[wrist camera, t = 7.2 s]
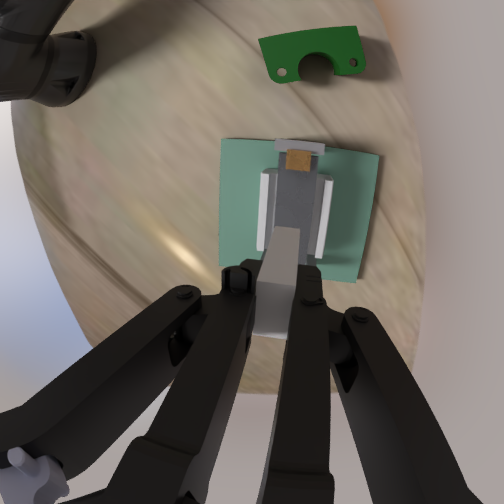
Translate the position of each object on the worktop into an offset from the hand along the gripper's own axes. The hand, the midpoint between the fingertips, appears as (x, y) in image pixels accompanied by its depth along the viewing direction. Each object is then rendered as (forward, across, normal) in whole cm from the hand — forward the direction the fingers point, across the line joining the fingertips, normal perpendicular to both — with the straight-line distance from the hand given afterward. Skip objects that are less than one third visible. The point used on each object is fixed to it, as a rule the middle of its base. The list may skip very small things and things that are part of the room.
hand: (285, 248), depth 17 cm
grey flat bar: (+14, 0, -1) cm, 14 cm away
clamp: (+21, +1, +18) cm, 27 cm away
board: (+20, 0, -3) cm, 20 cm away
